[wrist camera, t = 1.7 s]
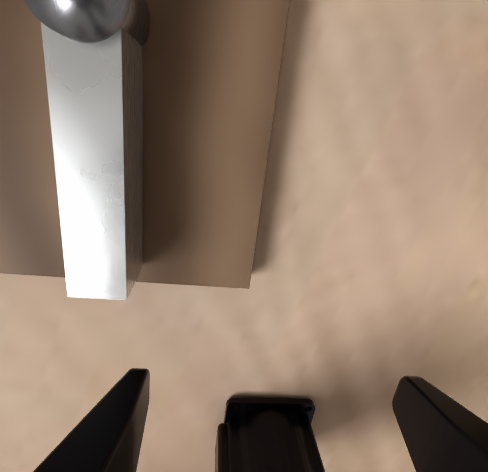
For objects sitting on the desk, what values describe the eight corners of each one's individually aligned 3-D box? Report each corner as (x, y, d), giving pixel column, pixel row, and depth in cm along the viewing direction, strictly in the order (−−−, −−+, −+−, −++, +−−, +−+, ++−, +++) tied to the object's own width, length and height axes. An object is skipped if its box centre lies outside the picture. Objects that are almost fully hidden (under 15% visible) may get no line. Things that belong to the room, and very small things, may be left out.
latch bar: (67, -39, 11) (2, -107, 8) (150, -25, 12) (122, -84, 8) (88, 264, 16) (51, 305, 12) (148, 268, 16) (129, 309, 13)
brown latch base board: (300, -117, 12) (344, -245, 8) (246, 275, 19) (255, 324, 14) (-362, -264, 10) (-824, -568, 5) (-166, 248, 16) (-308, 296, 12)
